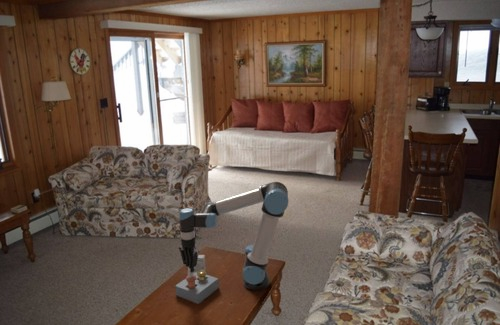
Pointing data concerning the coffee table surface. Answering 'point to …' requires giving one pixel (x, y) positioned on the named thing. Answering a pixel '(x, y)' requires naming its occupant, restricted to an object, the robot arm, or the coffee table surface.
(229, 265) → the coffee table surface
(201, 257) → the ink box
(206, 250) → the coffee table surface
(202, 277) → the brass plug
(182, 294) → the socket board
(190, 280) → the rust plug
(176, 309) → the coffee table surface
